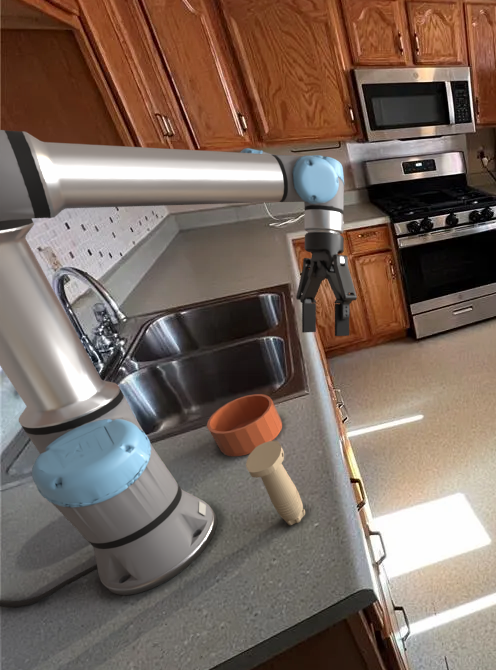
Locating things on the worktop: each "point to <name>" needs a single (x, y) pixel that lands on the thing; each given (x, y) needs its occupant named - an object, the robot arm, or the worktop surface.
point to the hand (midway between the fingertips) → (324, 334)
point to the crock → (245, 424)
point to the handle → (276, 480)
